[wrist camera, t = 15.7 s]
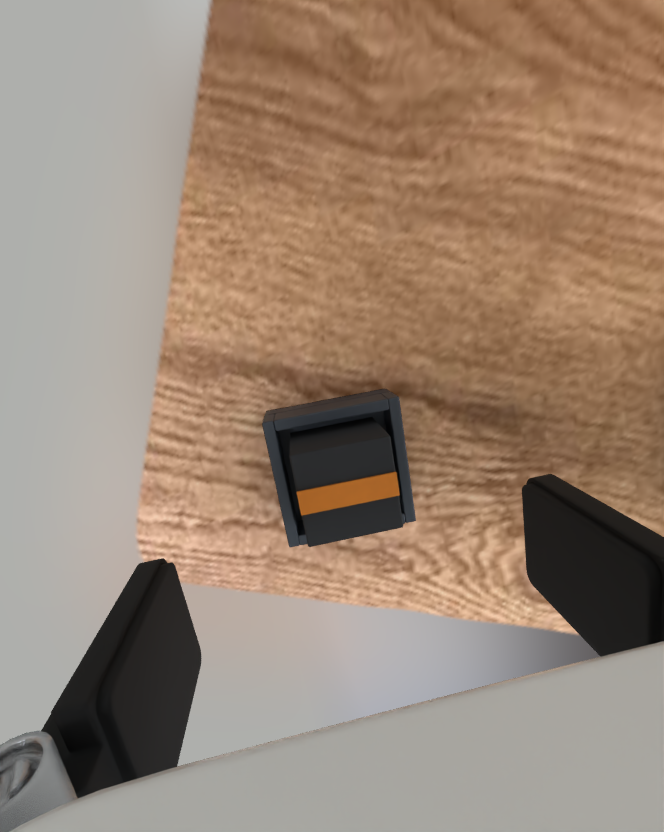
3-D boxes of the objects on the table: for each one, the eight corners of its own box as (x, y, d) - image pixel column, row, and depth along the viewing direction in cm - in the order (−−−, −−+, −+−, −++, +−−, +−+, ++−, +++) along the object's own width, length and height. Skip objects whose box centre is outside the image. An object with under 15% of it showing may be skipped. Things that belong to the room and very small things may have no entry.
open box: (289, 522, 21) (289, 548, 18) (265, 411, 19) (261, 422, 17) (401, 499, 21) (416, 521, 19) (386, 387, 20) (399, 396, 17)
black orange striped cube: (305, 509, 20) (308, 549, 16) (289, 432, 19) (288, 456, 15) (384, 493, 20) (404, 529, 16) (372, 416, 19) (391, 436, 16)
